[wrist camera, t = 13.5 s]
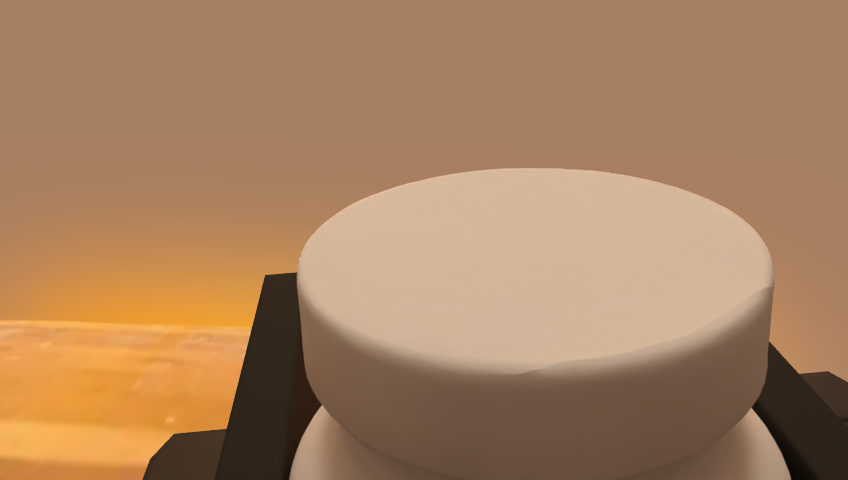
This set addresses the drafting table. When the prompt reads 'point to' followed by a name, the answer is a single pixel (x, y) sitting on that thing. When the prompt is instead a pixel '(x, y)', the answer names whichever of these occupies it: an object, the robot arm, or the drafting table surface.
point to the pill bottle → (536, 333)
